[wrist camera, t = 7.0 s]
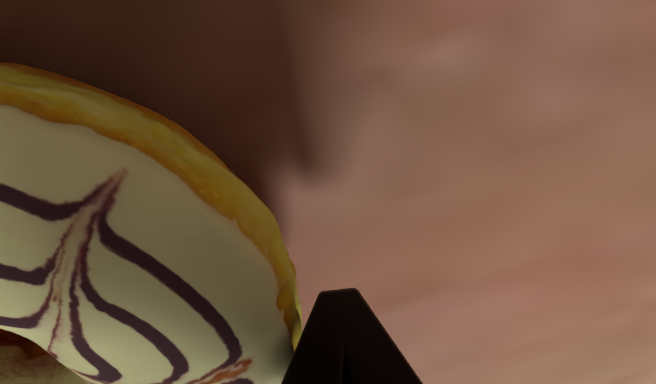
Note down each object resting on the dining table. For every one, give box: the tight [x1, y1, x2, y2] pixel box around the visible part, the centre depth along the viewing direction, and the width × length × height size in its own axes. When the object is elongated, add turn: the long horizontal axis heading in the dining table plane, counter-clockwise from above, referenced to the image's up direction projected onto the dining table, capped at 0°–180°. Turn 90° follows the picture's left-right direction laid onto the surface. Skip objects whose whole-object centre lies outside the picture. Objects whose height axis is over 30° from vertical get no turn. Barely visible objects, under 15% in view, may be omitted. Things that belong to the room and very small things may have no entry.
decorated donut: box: [0, 62, 302, 384], centre depth 10 cm, size 10×11×4 cm
